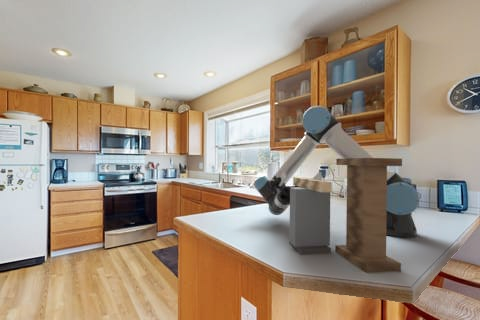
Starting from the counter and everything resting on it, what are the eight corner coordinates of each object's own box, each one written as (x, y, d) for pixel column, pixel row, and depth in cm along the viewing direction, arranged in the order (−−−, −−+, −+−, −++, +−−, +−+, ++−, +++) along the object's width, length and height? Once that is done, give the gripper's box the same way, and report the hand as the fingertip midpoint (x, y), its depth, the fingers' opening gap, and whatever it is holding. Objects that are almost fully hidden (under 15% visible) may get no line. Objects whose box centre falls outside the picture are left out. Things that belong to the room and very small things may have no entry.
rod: (293, 185, 90) (293, 177, 90) (300, 185, 90) (300, 177, 90) (321, 192, 68) (322, 181, 68) (331, 192, 69) (331, 182, 69)
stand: (335, 251, 76) (336, 158, 77) (363, 250, 78) (364, 159, 78) (367, 272, 61) (368, 157, 62) (401, 270, 63) (402, 158, 63)
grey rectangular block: (286, 243, 83) (287, 186, 83) (318, 242, 85) (319, 186, 85) (297, 254, 73) (298, 190, 73) (333, 252, 75) (334, 189, 75)
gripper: (313, 205, 103) (337, 184, 85) (258, 205, 99) (270, 184, 81) (310, 189, 107) (332, 166, 89) (256, 189, 103) (268, 165, 85)
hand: (303, 174), depth 85 cm, fingers open, 13 cm apart
